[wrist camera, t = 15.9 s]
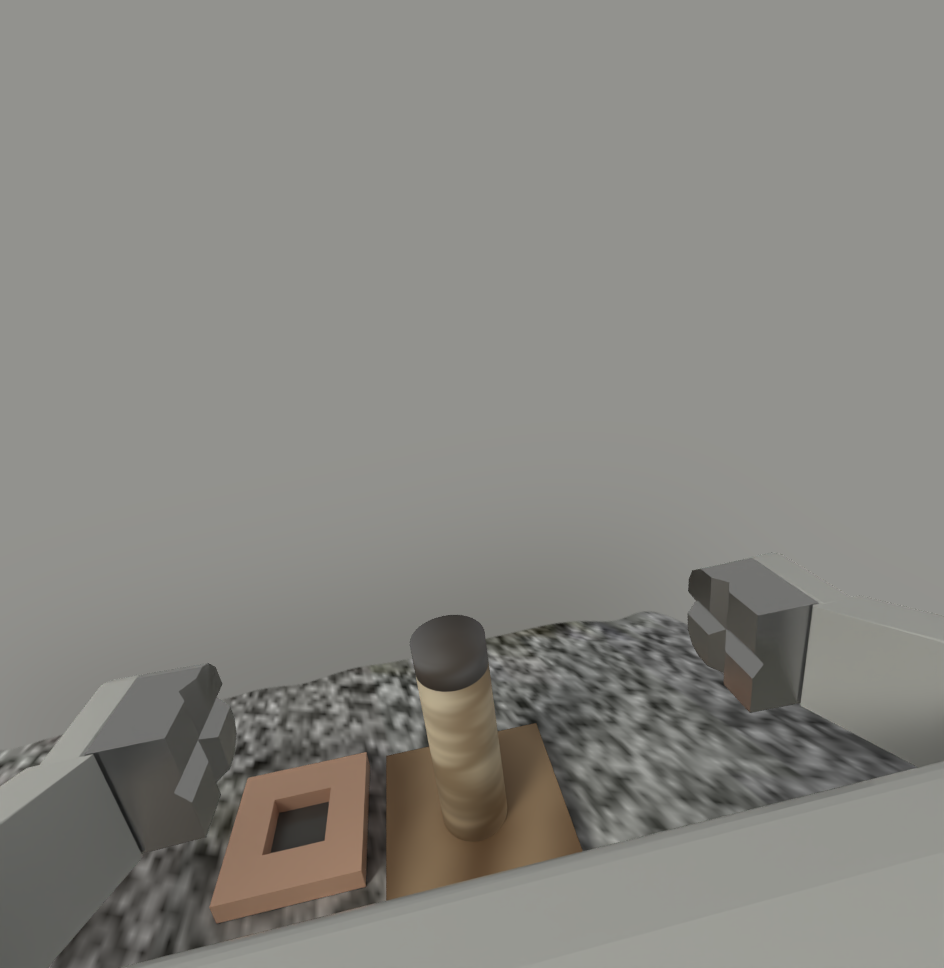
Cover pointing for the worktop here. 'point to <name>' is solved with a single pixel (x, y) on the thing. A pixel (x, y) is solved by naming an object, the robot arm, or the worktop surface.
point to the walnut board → (448, 860)
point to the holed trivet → (296, 838)
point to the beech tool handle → (461, 724)
